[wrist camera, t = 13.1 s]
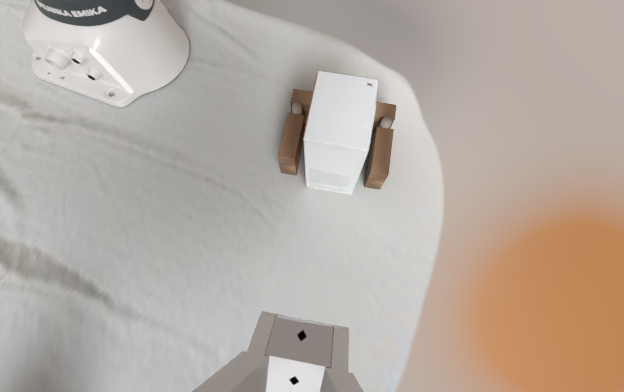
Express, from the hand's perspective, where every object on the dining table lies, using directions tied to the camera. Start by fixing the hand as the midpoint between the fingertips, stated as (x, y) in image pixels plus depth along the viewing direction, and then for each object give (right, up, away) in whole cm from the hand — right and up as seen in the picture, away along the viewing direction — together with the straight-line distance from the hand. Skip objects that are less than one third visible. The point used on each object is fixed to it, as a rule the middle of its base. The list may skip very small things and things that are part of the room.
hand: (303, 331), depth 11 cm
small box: (+3, +9, +32) cm, 33 cm away
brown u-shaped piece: (+4, +11, +33) cm, 35 cm away
